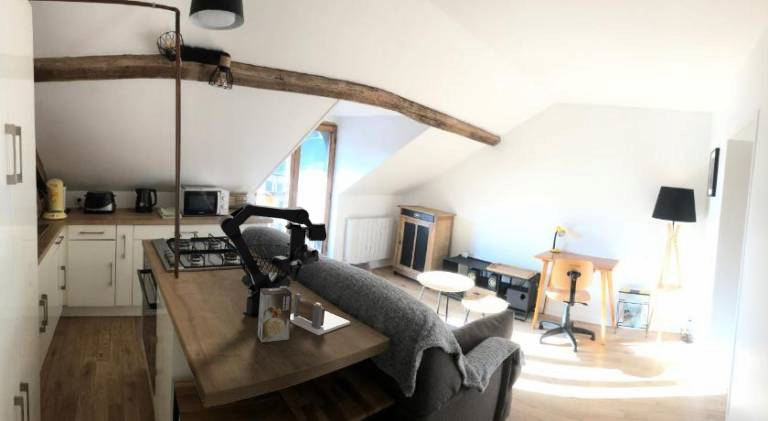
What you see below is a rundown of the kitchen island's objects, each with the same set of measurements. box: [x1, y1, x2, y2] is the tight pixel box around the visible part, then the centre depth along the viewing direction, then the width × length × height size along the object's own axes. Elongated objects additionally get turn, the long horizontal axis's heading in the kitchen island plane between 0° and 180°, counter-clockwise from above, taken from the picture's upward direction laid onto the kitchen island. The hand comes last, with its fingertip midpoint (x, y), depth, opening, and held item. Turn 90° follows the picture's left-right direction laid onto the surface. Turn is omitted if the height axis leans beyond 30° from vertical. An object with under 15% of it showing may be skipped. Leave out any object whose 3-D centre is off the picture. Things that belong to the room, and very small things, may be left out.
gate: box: [298, 298, 326, 326], centre depth 164 cm, size 2×12×6 cm, turn 52°
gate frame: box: [290, 293, 351, 336], centre depth 167 cm, size 16×18×10 cm
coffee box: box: [257, 287, 293, 343], centre depth 149 cm, size 9×6×16 cm
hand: (294, 281), depth 173 cm, fingers closed
